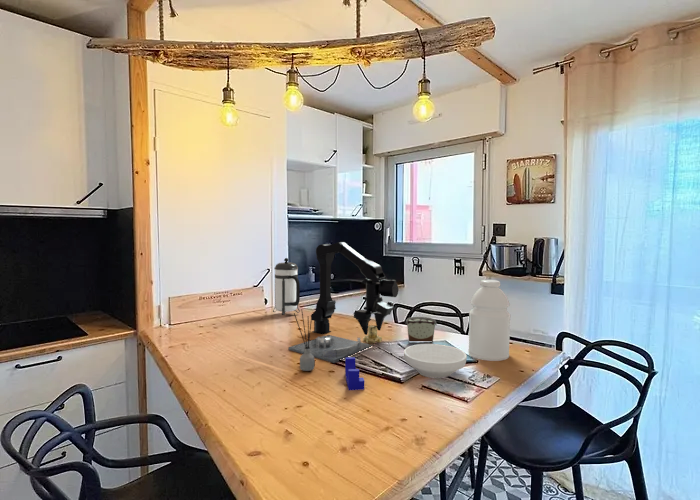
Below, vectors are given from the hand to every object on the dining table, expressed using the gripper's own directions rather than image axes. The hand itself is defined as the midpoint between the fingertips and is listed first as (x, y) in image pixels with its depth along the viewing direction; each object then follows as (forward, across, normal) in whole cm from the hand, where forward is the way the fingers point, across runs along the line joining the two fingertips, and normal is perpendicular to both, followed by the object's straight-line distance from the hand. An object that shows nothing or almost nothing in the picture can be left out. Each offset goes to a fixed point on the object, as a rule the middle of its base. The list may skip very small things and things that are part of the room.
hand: (372, 332), depth 162 cm
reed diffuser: (+4, -42, -2) cm, 42 cm away
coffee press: (+4, +14, +67) cm, 69 cm away
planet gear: (+4, 0, 0) cm, 4 cm away
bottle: (+4, +10, -44) cm, 46 cm away
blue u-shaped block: (+4, -40, -22) cm, 45 cm away
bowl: (+4, -18, -37) cm, 41 cm away
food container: (+4, +11, -16) cm, 20 cm away
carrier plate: (+4, -19, +6) cm, 20 cm away
